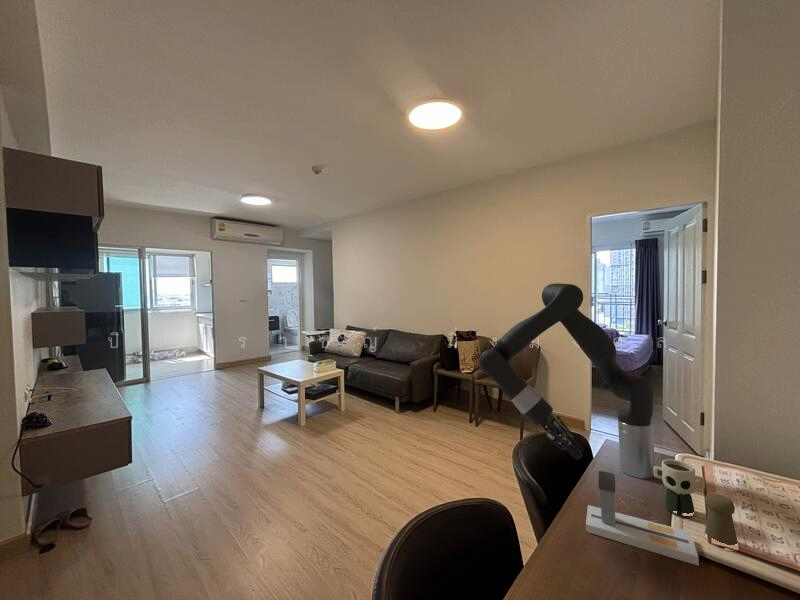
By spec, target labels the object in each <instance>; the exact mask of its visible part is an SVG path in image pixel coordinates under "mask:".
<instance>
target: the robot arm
mask: <svg viewBox="0 0 800 600" xmlns="http://www.w3.org/2000/svg"><path fill="white" fill-rule="evenodd" d="M541 299H542V300H541V301H542V303H543V305H544V308H542V309H541V310H539V311H538V312H536V313H535V314H533V315H531V316H528V317H527V318H525V319H523V320H521V321H520V322H518V323H516V324H514V326H513V327H511V328H510V329H509V330H508V331H507V332H506V333H504V334H503V335H502V336H501V338H500V339H499V340H498V341H497V343H496V344H495V345H494V346H492V347H491V348H490V349H487V350H485V351H483V352H482V353H481V354H480V356H479V359H478V368H479V369H480V371H481V372H482V374H485V375H486V376H487V375H488V376H490V378H491V379H492V380H493V381H494V382H495V383H496V384H497V385H498V387H499V389H500V390H501V392H502V393H503V394H504V395H505V396H506V397H507V398H508V399H509V401H511V403H513V405H514V406H515V407H516V409H517V410H518V411H519V412H520V413H521V415H523V416H524V418H526V419H527V421H528V422H529V423H530V424H531V425H532V426H535V427H536V426H538V425H540V426H541V427H542V429H543V431H544V432H545V433H546V434H545V435H544V437H545V439H546V440H548V441H549V442H550V443H552V444H553V445H554V446H556V447H557V448H558V449H559V450H561V451H563V450H565V451H567V452H568V453H569V455H571V457H572V458H574V459H575V460H576V461H579V460H580V459H582V458H583V454H582V453H583V452H584V448H583V447H582V446H581V445H580V444H579V443H578V442H577V441H576V440H575V438H574V436H573V435H572V434H573V433H572V431H571V430H570V429H569V427H568V426H567V425H566V424H565V422H564V421H563V420H562V419H561V416H559V415H557V416H556V417H555V416H554V415H553V414H552V412H553V410H554V408H553V406H552V405H550V404H549V403H548V402H547V401H546V399H544V397H542V396H541V395H540V394H539V393H538V392H537V391H536V390H535V389H534V388H533V387H531V386H530V385H529V384H528V383H527V382H526V381H525V380H524V379H523V378H522V377H521V376H520V375H519V374H518V373H517V372H516V371H515V370H514V369H513V368H512V365H510V363H509V362H510V361H511V360H512V359H513V358H514V357H515V356H517V355H518V354H519V353H521V352H522V351H524V349H525V348H526V347H528V345H529V344H531V343H532V342H533V341H534V340H535V339H536V338H538V337H539V336H540V335H541V334H543V333H545V331H547V330H549V329H550V328H551V327H553V326H555V325H556V324H558V323H559V322H560V323H561V325H562V326H563V327H564V328H565V329H566V330H567V332H568V334H569V335H570V336H571V337H572V338H573V340H574V341H575V343H576V344H577V345H578V347H579V348H580V349H581V351H582V352H583V353H584V354H585V356H586V357H587V358H588V359H589V360H590V361H591V363H592V364H593V366H594V367H595V369H597V371H598V372H599V373H600V375H601V377H602V378H603V380H604V382H606V384H607V387H608V388H609V390H610V391H611V392H612V394H613V395H614V396H615V397H616V398H619V399H621V400H624V401H626V402H629V403H630V404H629V408H625V409H624V408H623V409H619V410H618V412H617V425H618V446H619V447H618V448H619V449H618V451H619V469H620V470H621V472H623V473H624V474H626V475H629V476H630V477H634V478H637V479H651V478H653V477H654V469H653V468H654V466H656V463H655V447H654V446H655V445H654V444H653V439H652V435H653V434H652V417H653V414H654V413H653V412H654V389H653V384H652V383H651V380H649V379H648V378H647V377H644V376H641V375H636V374H631V373H628V372H626V371H624V370H623V368H621V367H620V365H619V363H618V362H617V348H616V344H615V343H614V341H613V340H612V338H611V336H609V335H608V333H607V332H606V331H605V330H604V328H602V327H601V326H600V325H599V324H598V323H596V322H595V321H593V320H592V319H590V318H589V317H588V316H586V315H585V314H584V313H582V312H581V311H580V307H581V306H582V304H583V303H584V302H583V301H584V294H583V291H582V289H581V288H580V287H579V286H578V285H576V284H571V283H557V282H556V283H550V284H548V285H546V286H545V287H544V288H543V290H542V293H541Z"/></svg>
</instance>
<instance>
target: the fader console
mask: <svg viewBox="0 0 800 600" xmlns="http://www.w3.org/2000/svg"><path fill="white" fill-rule="evenodd" d="M586 509H587V510H586V521H585V530H586V532H587V533H589V534H593V535H595V536H599V537H602V538H604V539H605V538H606V539H610V540H613V541H615V542H619V543H622V544H626V545H629V546H632V547H635V548H638V549H642V550H644V551H648V552H651V553H654V554H659V555H662V556H666V557H668V558H672V559H675V560H678V561H682V562H685V563H689V564H692V565H695V566H698V567H699V565H700V564H699V563H700V559H699V555H698V551H697V548H696V546H695V545H696V544H695V542H694V539H693V536H692V533H691V531H689V530H685V529H680V528H677V527H673V526H670V525H665V524H662V523H658V522H654V521H650V520H648V519H647V520H646V519H643V518H640V517H635V516H631V515H627V514H625V513H624V514H623V513H619V512H616V511H615V525H616V526H615V525H612V524H608V523H605V522H602V516H601V507H597V506H593V505H589V504H588V505H587V508H586Z"/></svg>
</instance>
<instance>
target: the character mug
mask: <svg viewBox="0 0 800 600" xmlns="http://www.w3.org/2000/svg"><path fill="white" fill-rule="evenodd" d="M653 469H654V473H653V477H654V478H656V479H660V480H662V483H663V485H664V486H665V487H666V488H667V489H666V492H665V499H664V500H665V501H664V504H665V505H664V506H665V508H666V509H667V510H668V511H669V512H671V513H673V511H678V513H681V514H682V513H687V514H689V513H693V512H694V511H695V505H694V502H693V497H692V495H691V494H693V493H695V491H696V489H699V490H705V489H706V481H705V478H704V477H702V476H699V475H696V469H695V467H694V466H692V465H691V464H689V463H687V462H685V461H682V460H677V459H672V458H671V459H669V458H667V459H663V460H662V461H661V467H660V466H656V465H655V466H654V468H653ZM659 471H661V475H660V474H659ZM696 480H697V481H699V484H698V483H696Z"/></svg>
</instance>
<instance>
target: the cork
mask: <svg viewBox="0 0 800 600" xmlns="http://www.w3.org/2000/svg"><path fill="white" fill-rule="evenodd" d="M704 502H705V505H706V506H707V508H708V509H707V515H706V522H705V529H704V534H705V533H706V534H707V535H708V536H709V537H711V538H713V539H715V540H717V541H719V542H721V543H725V544H727V545H735V544H737V543H738V544H739V541H738V537H737V533H736V531H737V530H736V528H735V523H734V518H733V514H734V513H735V511H736V507H735V505H734V503H733V501H732V500H731V499H730V498H728V497H726V496H724V495H721V494H718V493H708V494H707V495H705V498H704Z"/></svg>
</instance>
